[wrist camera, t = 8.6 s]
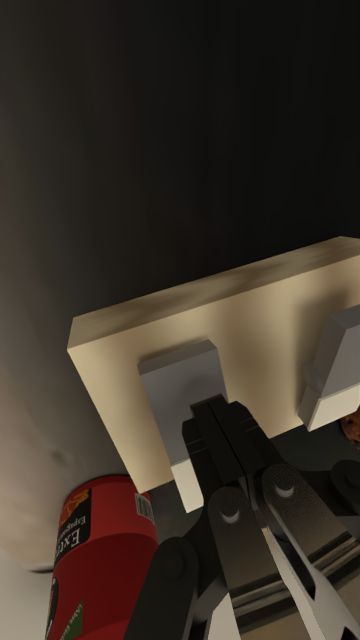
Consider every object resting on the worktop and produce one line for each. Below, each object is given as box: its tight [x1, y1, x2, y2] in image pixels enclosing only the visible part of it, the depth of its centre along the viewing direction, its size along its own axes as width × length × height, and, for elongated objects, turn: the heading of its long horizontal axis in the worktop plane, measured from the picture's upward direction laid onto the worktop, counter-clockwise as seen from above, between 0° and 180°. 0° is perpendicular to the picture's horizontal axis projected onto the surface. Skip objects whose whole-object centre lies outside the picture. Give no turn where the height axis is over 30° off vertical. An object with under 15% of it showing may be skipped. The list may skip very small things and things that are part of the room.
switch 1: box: [137, 339, 229, 513], centre depth 15 cm, size 4×10×2 cm, turn 12°
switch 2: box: [298, 304, 360, 431], centre depth 17 cm, size 4×10×2 cm, turn 12°
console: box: [67, 236, 360, 494], centre depth 19 cm, size 20×13×4 cm, turn 102°
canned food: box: [45, 475, 159, 640], centre depth 19 cm, size 8×8×11 cm
